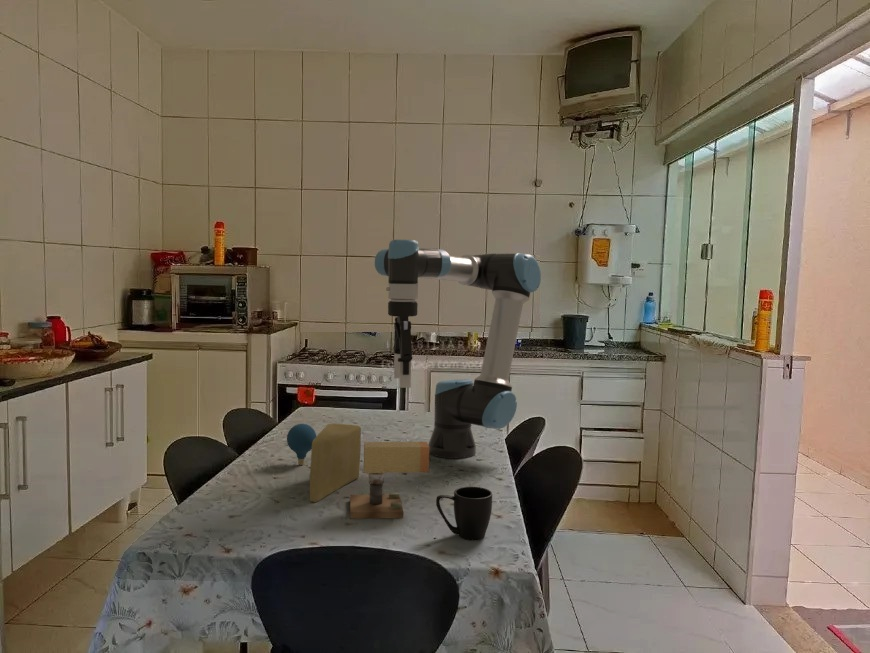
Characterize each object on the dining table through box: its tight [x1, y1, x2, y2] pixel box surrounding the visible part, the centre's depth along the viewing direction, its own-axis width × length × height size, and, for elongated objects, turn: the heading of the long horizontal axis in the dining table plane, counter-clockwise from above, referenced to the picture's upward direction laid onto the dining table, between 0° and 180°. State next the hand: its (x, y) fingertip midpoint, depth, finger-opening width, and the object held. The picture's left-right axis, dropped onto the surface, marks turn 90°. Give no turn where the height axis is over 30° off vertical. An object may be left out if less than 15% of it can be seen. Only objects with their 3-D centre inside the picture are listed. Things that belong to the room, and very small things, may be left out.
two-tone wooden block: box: [363, 441, 430, 485], centre depth 155 cm, size 15×5×9 cm, turn 97°
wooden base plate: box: [349, 483, 404, 520], centre depth 155 cm, size 12×12×6 cm
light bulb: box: [286, 423, 317, 466], centre depth 189 cm, size 8×8×12 cm
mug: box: [435, 486, 493, 542], centre depth 141 cm, size 8×12×10 cm
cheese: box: [309, 423, 362, 503], centre depth 169 cm, size 22×10×15 cm, turn 168°
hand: (402, 382), depth 170 cm, fingers open, 13 cm apart
